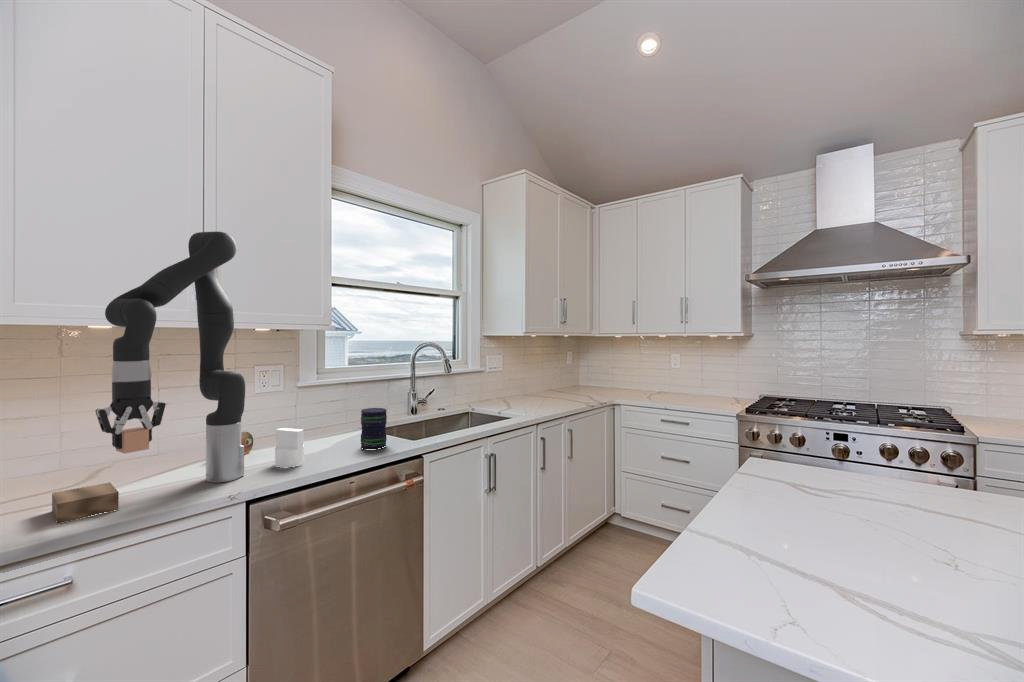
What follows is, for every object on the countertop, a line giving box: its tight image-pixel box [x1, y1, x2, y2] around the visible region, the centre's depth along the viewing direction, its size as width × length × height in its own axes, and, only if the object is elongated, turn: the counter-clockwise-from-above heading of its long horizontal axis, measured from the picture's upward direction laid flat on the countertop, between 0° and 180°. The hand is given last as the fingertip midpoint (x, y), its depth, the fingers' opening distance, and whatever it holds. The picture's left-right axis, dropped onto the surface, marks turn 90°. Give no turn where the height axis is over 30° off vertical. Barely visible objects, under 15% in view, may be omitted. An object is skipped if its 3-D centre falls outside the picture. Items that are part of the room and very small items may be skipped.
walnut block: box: [51, 482, 120, 525], centre depth 115 cm, size 11×11×5 cm
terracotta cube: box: [115, 426, 150, 454], centre depth 115 cm, size 5×5×5 cm
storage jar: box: [360, 407, 388, 449], centre depth 181 cm, size 10×10×15 cm
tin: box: [241, 431, 254, 455], centre depth 165 cm, size 15×3×8 cm, turn 168°
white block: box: [274, 427, 305, 469], centre depth 157 cm, size 9×9×12 cm
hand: (132, 445), depth 115 cm, fingers closed on terracotta cube, 5 cm apart
